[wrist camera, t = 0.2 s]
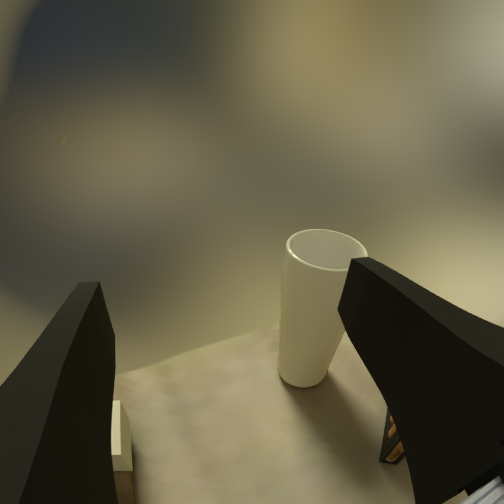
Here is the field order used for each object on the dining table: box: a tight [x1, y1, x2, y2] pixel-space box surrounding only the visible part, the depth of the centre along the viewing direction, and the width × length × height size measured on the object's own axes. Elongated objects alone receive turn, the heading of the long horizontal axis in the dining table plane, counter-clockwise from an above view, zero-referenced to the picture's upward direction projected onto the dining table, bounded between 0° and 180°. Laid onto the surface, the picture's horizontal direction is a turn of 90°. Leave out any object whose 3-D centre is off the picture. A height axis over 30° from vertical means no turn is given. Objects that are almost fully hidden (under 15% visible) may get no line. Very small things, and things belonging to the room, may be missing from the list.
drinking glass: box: [277, 229, 368, 388], centre depth 29 cm, size 7×7×15 cm
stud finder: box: [111, 400, 133, 471], centre depth 21 cm, size 5×5×4 cm
